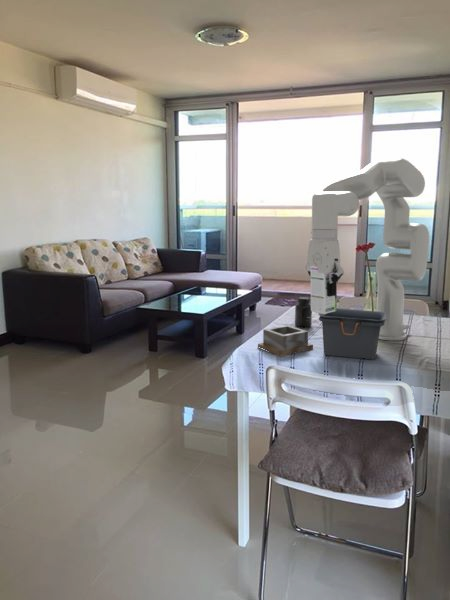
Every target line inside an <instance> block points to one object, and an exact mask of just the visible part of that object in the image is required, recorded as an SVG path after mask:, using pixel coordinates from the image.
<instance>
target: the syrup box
mask: <svg viewBox="0 0 450 600" xmlns="http://www.w3.org/2000/svg"><path fill="white" fill-rule="evenodd" d="M310 268H311V279H310V305H311V311H312V313H316V314H318V313H320V314H327V313H330V312H335V311H337V305H338V304H337V302H338V299H337V297H338V295H337V292H338V289H337V288H338V282H337V283H336V295H335V296H327V283H329V281H328V277H327V274H323V273H319V272H318V268H317V267H315V266H311V267H310ZM332 272H333V271H332ZM331 276H332V278H333V275H331Z"/></svg>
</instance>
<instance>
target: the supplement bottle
mask: <svg viewBox="0 0 450 600" xmlns="http://www.w3.org/2000/svg"><path fill="white" fill-rule="evenodd" d="M312 317H313V312H312V311H311V297H309V296H308V297H307V296H299V297H298V298H297V304H295V307H294V327H296V328H299V329H310V328H311V327H312Z"/></svg>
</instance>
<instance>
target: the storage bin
mask: <svg viewBox="0 0 450 600" xmlns="http://www.w3.org/2000/svg"><path fill="white" fill-rule="evenodd" d="M317 315H318V316H319V317H318V321H320V322H321V323H322V324H321V326H322V343H323V344H322V345H323V354H324V355H325V356H334V357H341V358H343V357H345V358H352V359H353V358H354V359H361V358H366V359H365V360H370V359H373V360H375V359H376V357H377V356H376V355H377V351H378V345H379V340H380V339H379V333H380V328H381V326H383V325H384V323H385V319H386V313H384V312H377V310H363V309H353V308H352V309H350V308H337V311H335V312H330V313H327V314H320V313H317Z"/></svg>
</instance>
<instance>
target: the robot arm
mask: <svg viewBox="0 0 450 600" xmlns="http://www.w3.org/2000/svg"><path fill="white" fill-rule="evenodd" d="M425 186H426V180H425V177H424V174H422V172H421V171H420V170H419V169H418V168H417V167H416V166H415V165H414V164H413V163H411V161H409V160H407V159H404V158H401V157H395V158H384V159H376V160H373V161H371V162H370V163H369V164H367V165H366V166H364V167H363V168H362V169H360V170H359V171H357V172H356V173H355V174H353V175H349V176H347V177H345V178H342V179H339V180H337V181H334V182H331V183H329V184H327V185H326V186H324V187H323V188H321V189H320V190H319V191H317V193H314V194H313V195H312V198H311V232H310V234H311V239H309V243H308V248H307V260H306V264H305V266H304V267H305V269H306V271H307V273H308V275H309V279H310V280H311V268H310V267H311V266H315V267H317V268H318V272H319V273H323V274H327V277H328V281H329V283H327V296H335V295H336V283H337V284H338V282H339V281H340V279H341V277H342V276H343V275H344V274H345V271H344V270H343V268H342V266H341V250H340V243H339V240H338V222H339V221H338V220H339V219H338V218H339V217H342V218H343V217H345V218H346V217H347V218H348V217H351V216H354V214H355V213H357V211H358V210H359V207H360V200H364V199H368V198H369V197H371V196H372V195H374V193H376V194H377V196H378V197H379V198H380V200H381V202H382V204H383V209H384V220H383V229H382V231H383V232H382V244H383V246H384V247H386V248H388V249H393V250H403V251H407V250H408V251H410V253H403V252H384V253H382V254H380V255H379V256H378V257H377V259H376V261H375V270H376V277H377V278H376V279H377V297H376V299H377V300H376V311H377V312H384V313H386V319H385V323H384V325H383V326H381V328H380V333H379V339H378V340H382V341H391V342H392V341H402V340H405V339H407V333H405V332H404V331H405V330H408V329H410V327H411V326H410V324H409V323H405V324H404V323H403V322H404V309H405V308H404V307H405V306H404V305H405V289H404V285H403V284H402V281H412V282H418V281H421V280H423V278H424V277H425V275H426V273H427V266H428V256H429V246H430V232H429V228H428V227H427V226H426V224H423V223H419V222H417V223H416V222H410V211H411V210H410V206H409V203H408V202H407V200H406V199H405V198H416V197H419V196H421V194H422V193H423V192H424V190H425ZM332 271H333V272H332ZM331 275H333V278H332V276H331Z"/></svg>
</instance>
